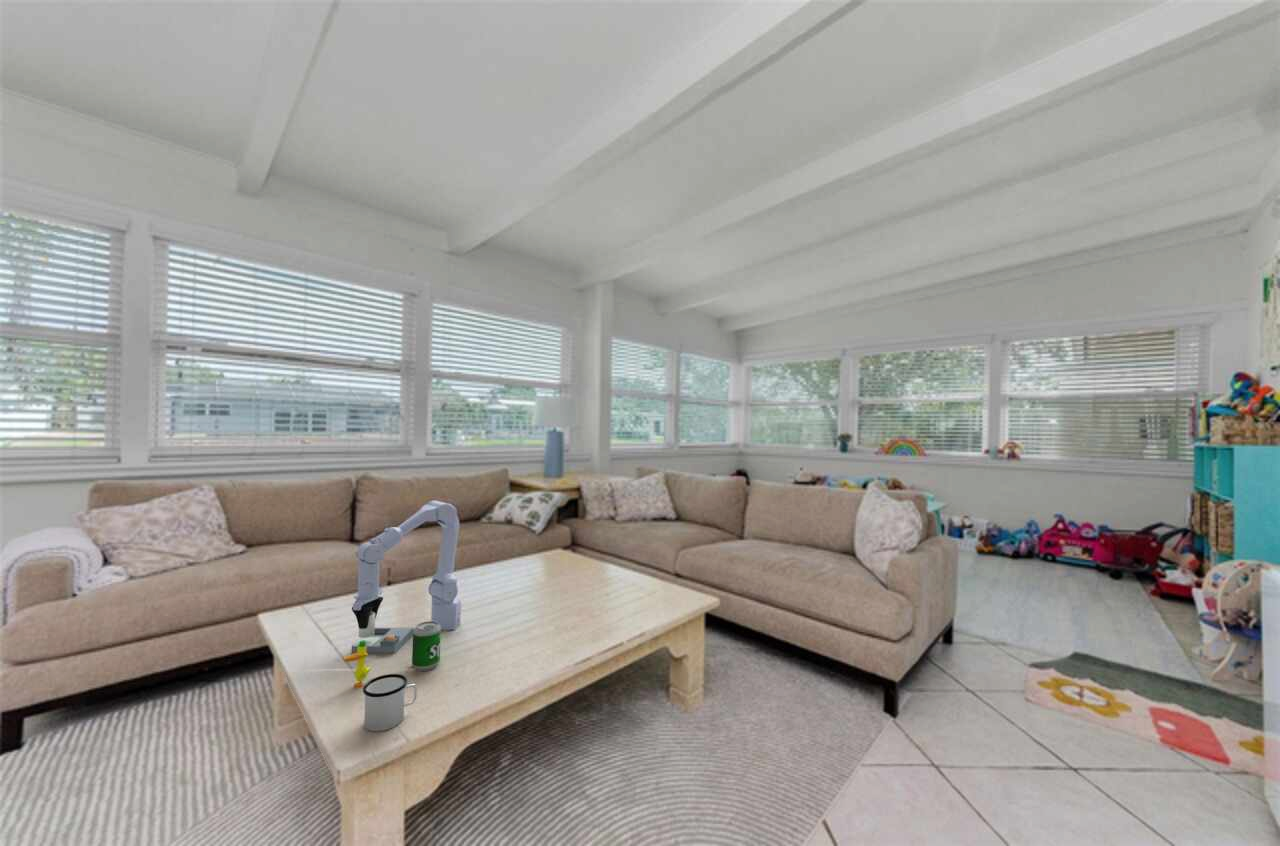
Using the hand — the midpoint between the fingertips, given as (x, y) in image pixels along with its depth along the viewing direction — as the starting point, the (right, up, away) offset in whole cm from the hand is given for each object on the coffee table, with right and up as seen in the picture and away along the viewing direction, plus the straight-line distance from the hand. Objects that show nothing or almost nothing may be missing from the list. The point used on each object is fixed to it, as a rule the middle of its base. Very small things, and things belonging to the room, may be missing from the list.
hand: (367, 624), depth 151 cm
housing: (+3, -8, +4) cm, 9 cm away
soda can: (+22, -9, -9) cm, 26 cm away
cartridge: (0, -3, 0) cm, 3 cm away
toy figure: (+9, -8, -21) cm, 24 cm away
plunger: (+7, -5, -1) cm, 9 cm away
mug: (+25, -8, -35) cm, 44 cm away
